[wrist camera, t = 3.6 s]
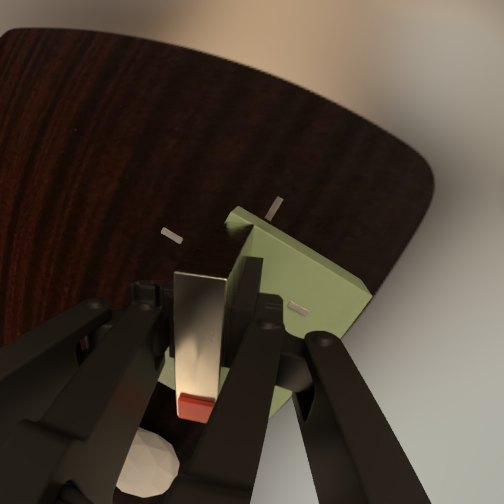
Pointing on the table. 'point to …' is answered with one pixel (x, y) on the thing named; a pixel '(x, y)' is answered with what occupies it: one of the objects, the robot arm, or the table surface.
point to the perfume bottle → (148, 465)
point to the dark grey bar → (206, 317)
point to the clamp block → (294, 287)
